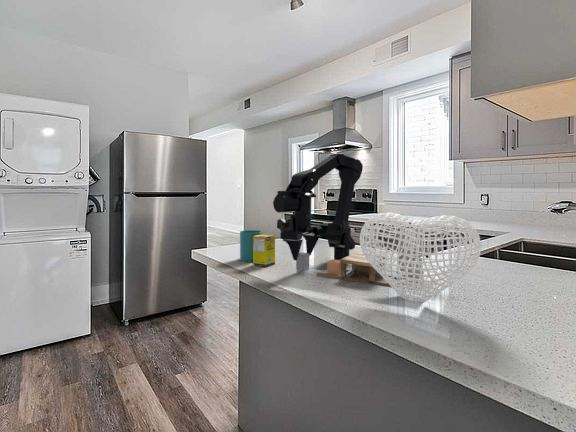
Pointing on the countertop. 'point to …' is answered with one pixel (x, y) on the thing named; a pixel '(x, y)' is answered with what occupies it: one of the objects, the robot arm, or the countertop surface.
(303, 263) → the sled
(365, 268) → the tunnel channel
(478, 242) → the heart
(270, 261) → the supplement box
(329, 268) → the block
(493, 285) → the countertop surface
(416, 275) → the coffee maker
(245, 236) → the cup
